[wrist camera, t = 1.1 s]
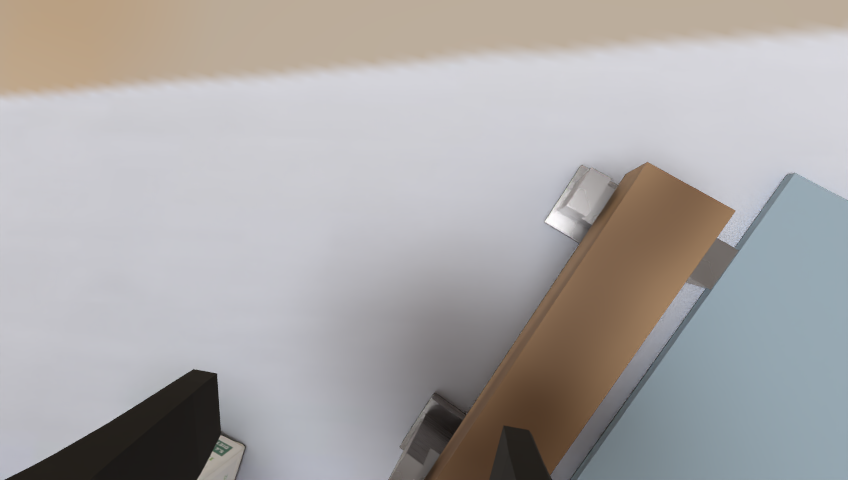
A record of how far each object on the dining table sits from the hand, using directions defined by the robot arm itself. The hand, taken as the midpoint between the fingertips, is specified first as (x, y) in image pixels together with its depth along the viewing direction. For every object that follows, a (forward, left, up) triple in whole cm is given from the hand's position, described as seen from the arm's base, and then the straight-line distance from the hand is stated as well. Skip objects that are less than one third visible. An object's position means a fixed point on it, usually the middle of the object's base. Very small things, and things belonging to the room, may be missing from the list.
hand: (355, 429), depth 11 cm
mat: (-14, -4, -12) cm, 18 cm away
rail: (-5, -2, -8) cm, 10 cm away
